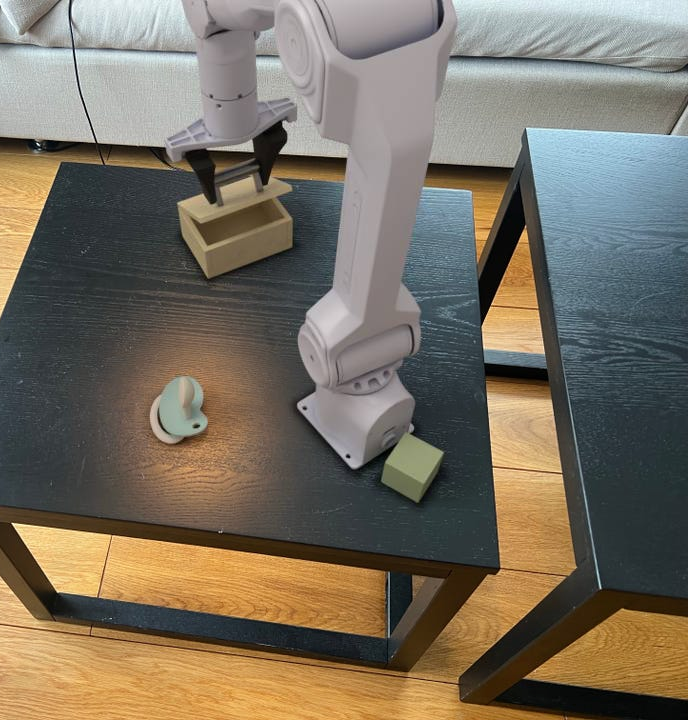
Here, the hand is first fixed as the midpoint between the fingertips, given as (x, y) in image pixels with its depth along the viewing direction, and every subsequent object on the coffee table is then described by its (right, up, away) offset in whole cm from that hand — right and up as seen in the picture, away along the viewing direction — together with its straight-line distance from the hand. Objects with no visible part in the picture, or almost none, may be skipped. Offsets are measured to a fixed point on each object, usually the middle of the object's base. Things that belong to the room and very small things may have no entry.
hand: (236, 189), depth 86 cm
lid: (0, -1, +2) cm, 3 cm away
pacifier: (-6, -26, -7) cm, 27 cm away
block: (+16, -31, -13) cm, 37 cm away
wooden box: (0, -5, +8) cm, 9 cm away
